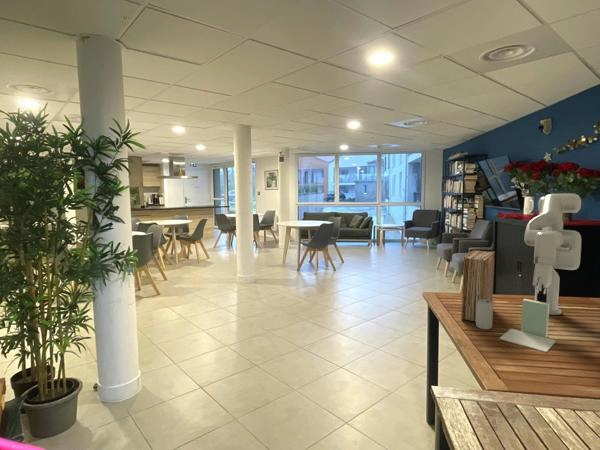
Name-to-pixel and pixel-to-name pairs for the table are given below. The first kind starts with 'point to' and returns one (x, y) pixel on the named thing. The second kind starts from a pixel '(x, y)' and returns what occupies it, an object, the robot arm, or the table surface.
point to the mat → (528, 340)
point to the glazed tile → (535, 317)
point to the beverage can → (484, 314)
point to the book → (477, 281)
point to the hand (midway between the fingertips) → (541, 302)
